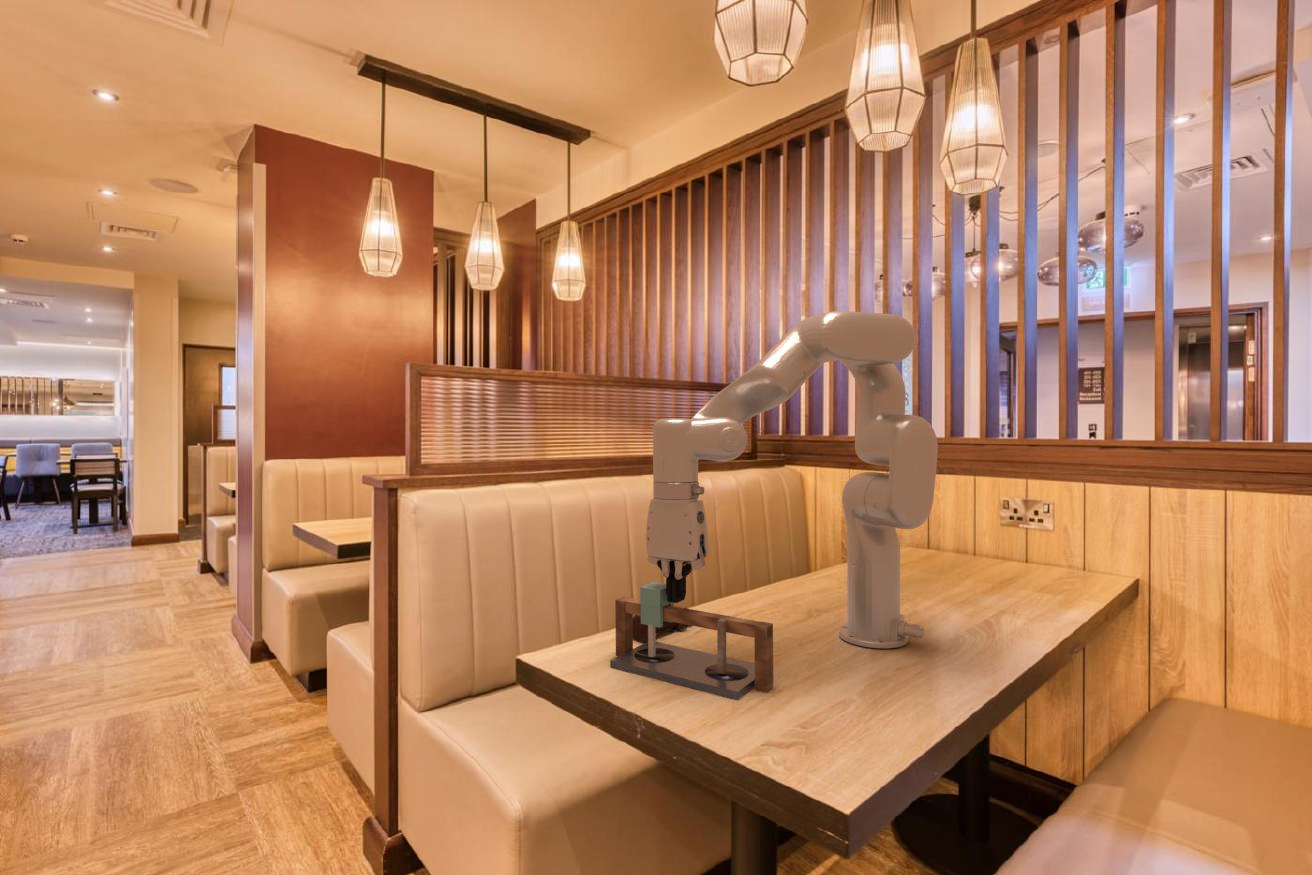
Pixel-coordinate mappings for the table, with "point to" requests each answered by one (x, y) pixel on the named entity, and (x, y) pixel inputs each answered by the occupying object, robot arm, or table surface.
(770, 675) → the beam
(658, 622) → the slider block
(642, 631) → the bolt
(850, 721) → the table surface
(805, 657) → the table surface
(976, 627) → the table surface
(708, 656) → the hole plate
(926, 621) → the table surface
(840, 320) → the robot arm
